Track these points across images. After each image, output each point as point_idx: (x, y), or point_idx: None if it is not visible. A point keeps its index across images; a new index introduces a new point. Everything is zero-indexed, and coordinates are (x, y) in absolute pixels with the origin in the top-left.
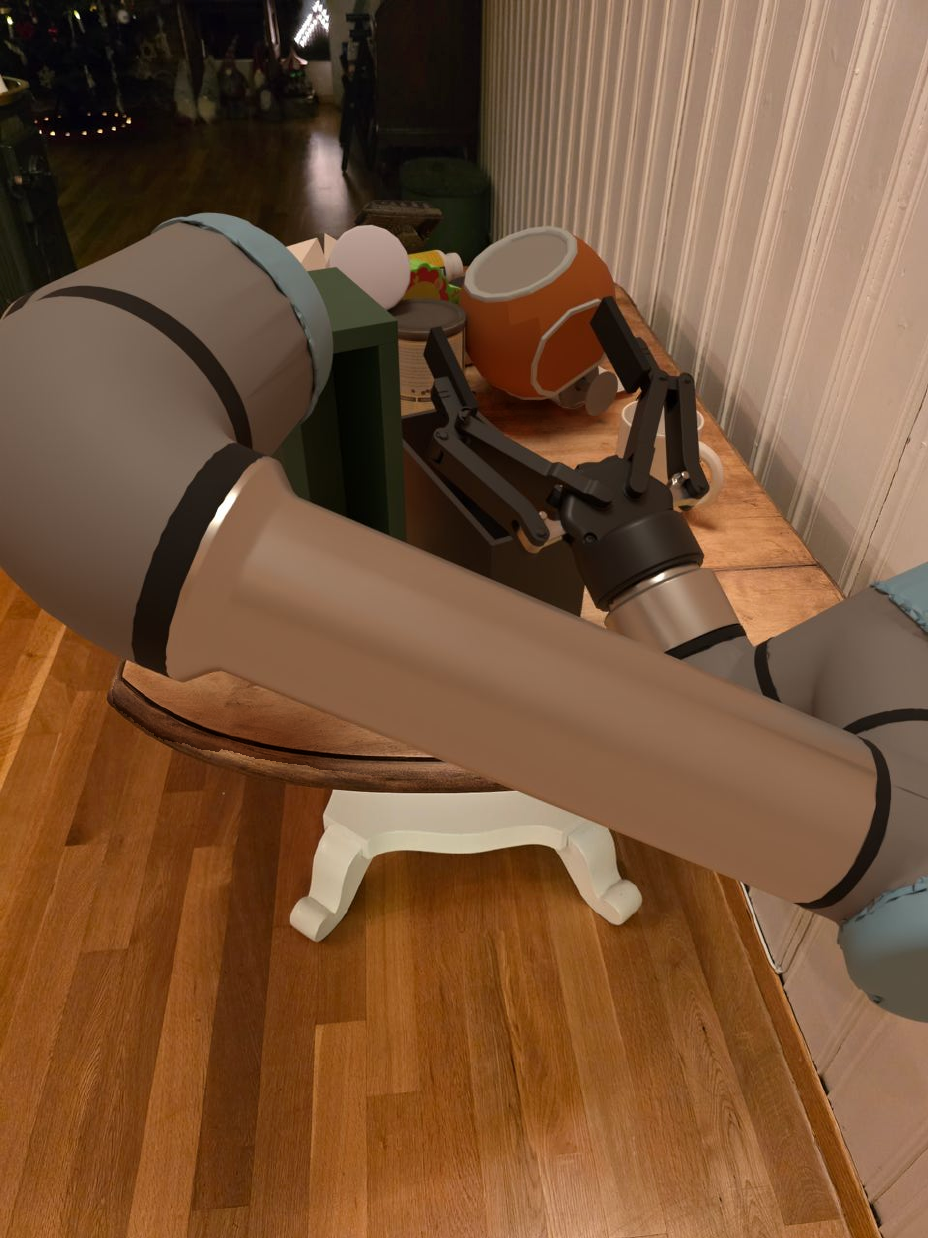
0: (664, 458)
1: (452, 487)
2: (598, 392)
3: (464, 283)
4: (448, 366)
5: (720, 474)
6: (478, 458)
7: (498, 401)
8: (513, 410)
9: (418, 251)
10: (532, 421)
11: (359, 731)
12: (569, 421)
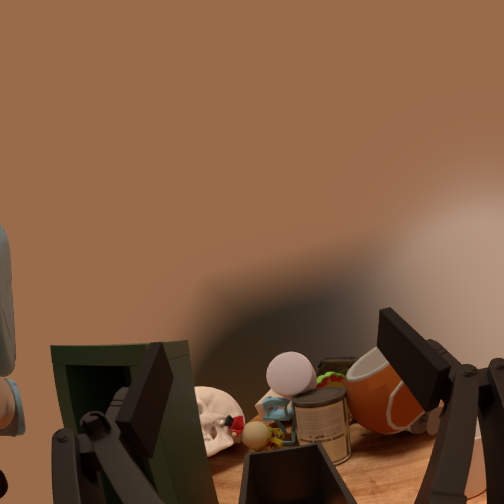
0: (478, 454)
1: (311, 498)
2: (434, 420)
3: (346, 375)
4: (135, 374)
5: None
6: (75, 480)
7: (377, 437)
8: (385, 441)
9: None
10: (395, 445)
11: None
12: (418, 441)
